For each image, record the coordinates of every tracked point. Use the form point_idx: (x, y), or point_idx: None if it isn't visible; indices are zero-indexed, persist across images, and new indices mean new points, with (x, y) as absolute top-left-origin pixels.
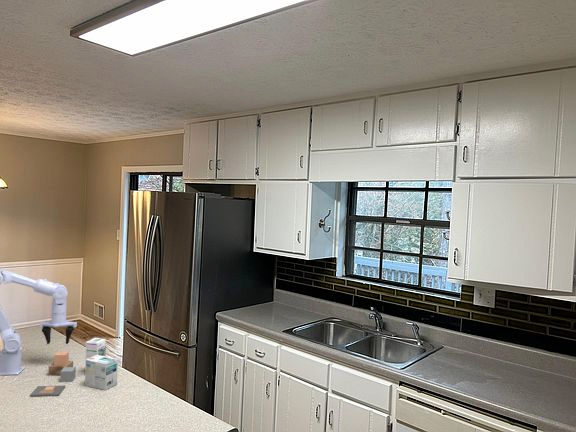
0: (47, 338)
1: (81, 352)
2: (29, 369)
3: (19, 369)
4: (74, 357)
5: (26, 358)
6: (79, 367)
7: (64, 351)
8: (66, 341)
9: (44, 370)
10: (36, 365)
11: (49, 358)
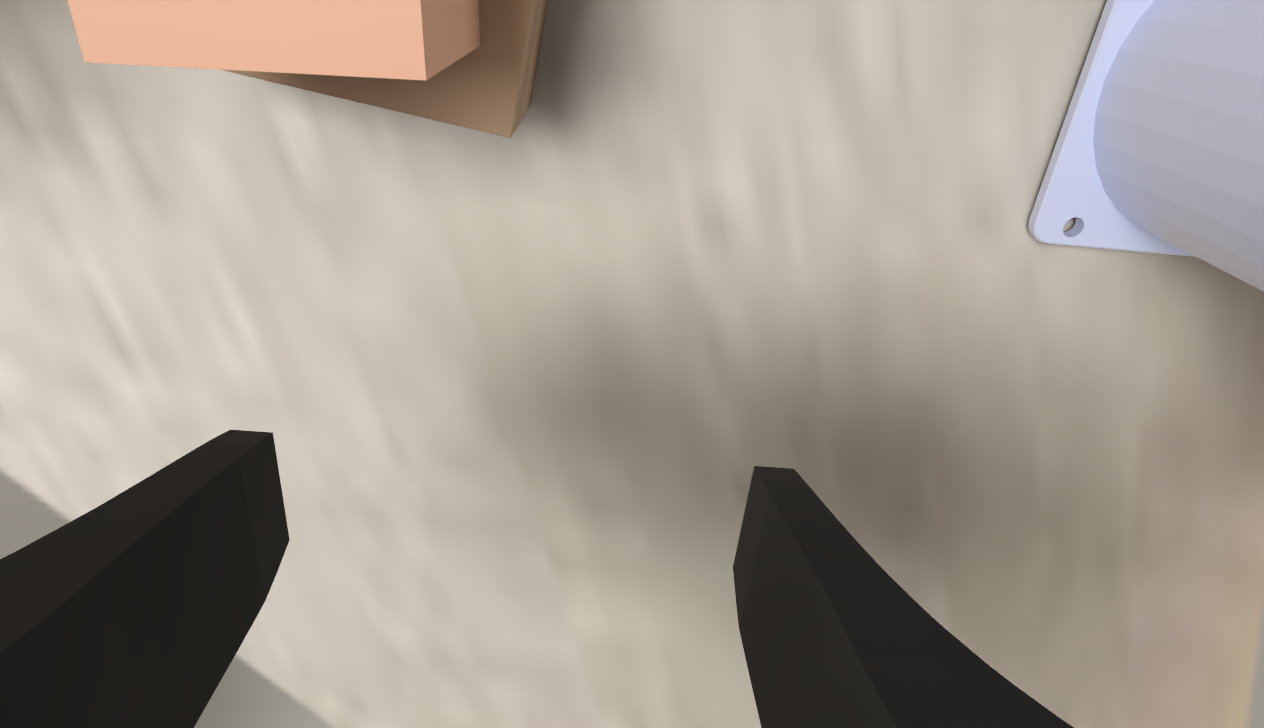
0: (828, 569)
1: (383, 676)
2: (958, 155)
3: (1146, 34)
4: (411, 539)
5: (1014, 568)
6: (162, 131)
7: (211, 60)
8: (204, 460)
9: (715, 69)
10: (869, 314)
11: (731, 540)
